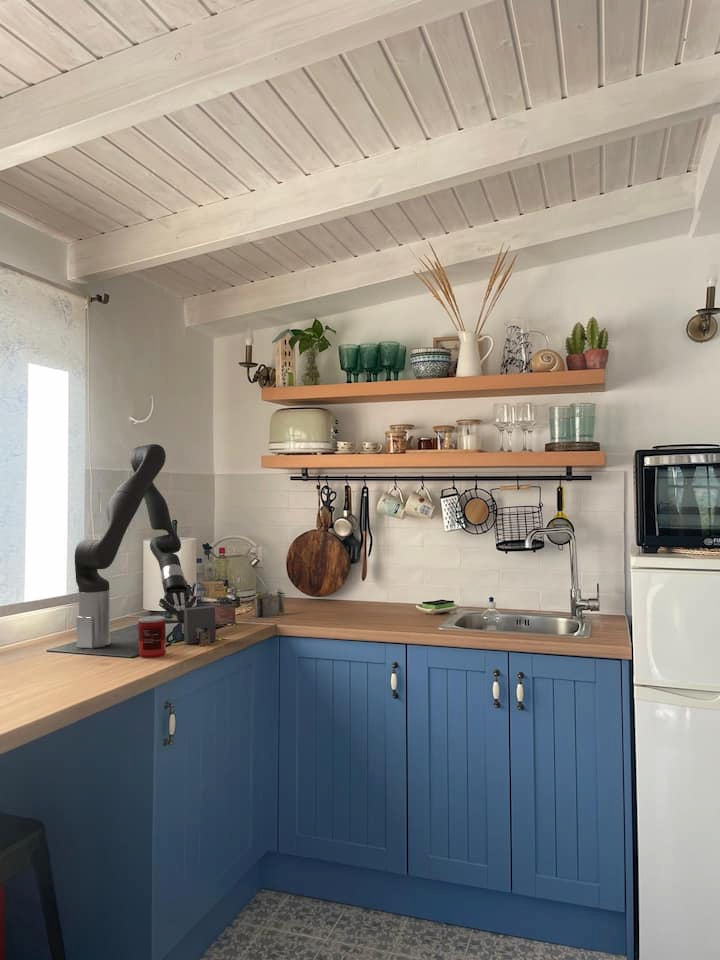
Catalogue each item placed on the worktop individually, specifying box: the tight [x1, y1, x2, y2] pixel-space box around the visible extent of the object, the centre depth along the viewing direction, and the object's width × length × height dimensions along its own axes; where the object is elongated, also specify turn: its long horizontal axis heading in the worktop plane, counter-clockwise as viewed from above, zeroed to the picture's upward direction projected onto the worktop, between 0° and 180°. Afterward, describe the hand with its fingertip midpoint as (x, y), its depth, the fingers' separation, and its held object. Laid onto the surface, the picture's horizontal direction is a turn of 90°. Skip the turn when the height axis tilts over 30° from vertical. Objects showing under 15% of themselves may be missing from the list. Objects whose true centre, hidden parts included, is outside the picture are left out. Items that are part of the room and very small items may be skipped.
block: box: [183, 605, 217, 645], centre depth 235 cm, size 4×9×11 cm, turn 117°
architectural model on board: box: [254, 592, 286, 618], centre depth 284 cm, size 11×3×10 cm, turn 121°
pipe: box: [170, 624, 226, 647], centre depth 240 cm, size 23×18×4 cm
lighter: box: [214, 596, 237, 626], centre depth 266 cm, size 8×3×10 cm, turn 74°
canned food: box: [137, 615, 167, 659], centre depth 218 cm, size 8×8×11 cm
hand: (182, 622), depth 242 cm, fingers closed
